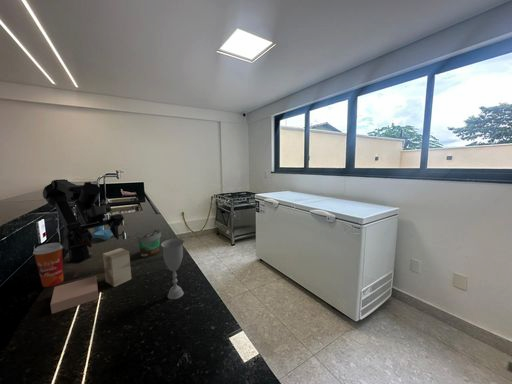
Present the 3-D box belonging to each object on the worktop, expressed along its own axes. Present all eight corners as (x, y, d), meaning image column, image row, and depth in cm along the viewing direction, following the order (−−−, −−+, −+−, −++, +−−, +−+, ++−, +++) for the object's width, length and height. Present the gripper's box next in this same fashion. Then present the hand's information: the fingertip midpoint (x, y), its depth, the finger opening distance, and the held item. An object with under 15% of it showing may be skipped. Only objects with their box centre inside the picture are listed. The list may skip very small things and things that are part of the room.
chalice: (168, 288, 74) (165, 239, 72) (188, 287, 75) (186, 238, 72) (161, 302, 67) (157, 247, 64) (183, 301, 68) (180, 247, 65)
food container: (151, 260, 95) (149, 238, 94) (139, 258, 96) (137, 237, 95) (167, 249, 107) (166, 230, 106) (156, 248, 108) (155, 229, 107)
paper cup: (34, 291, 72) (27, 252, 70) (43, 280, 79) (37, 244, 77) (63, 285, 76) (58, 248, 74) (70, 275, 83) (65, 240, 81)
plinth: (51, 313, 62) (50, 304, 61) (55, 295, 70) (54, 286, 70) (98, 298, 69) (97, 290, 68) (97, 283, 77) (96, 275, 77)
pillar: (105, 282, 78) (102, 253, 77) (122, 274, 83) (120, 247, 82) (114, 286, 75) (111, 257, 73) (131, 278, 80) (129, 251, 79)
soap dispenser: (119, 238, 121) (118, 223, 120) (98, 244, 113) (96, 228, 112) (107, 232, 132) (106, 218, 131) (87, 237, 124) (85, 222, 122)
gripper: (62, 202, 73) (80, 238, 69) (119, 194, 89) (136, 224, 85) (56, 221, 78) (73, 256, 74) (111, 210, 94) (127, 239, 90)
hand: (105, 242), depth 81 cm, fingers open, 9 cm apart
